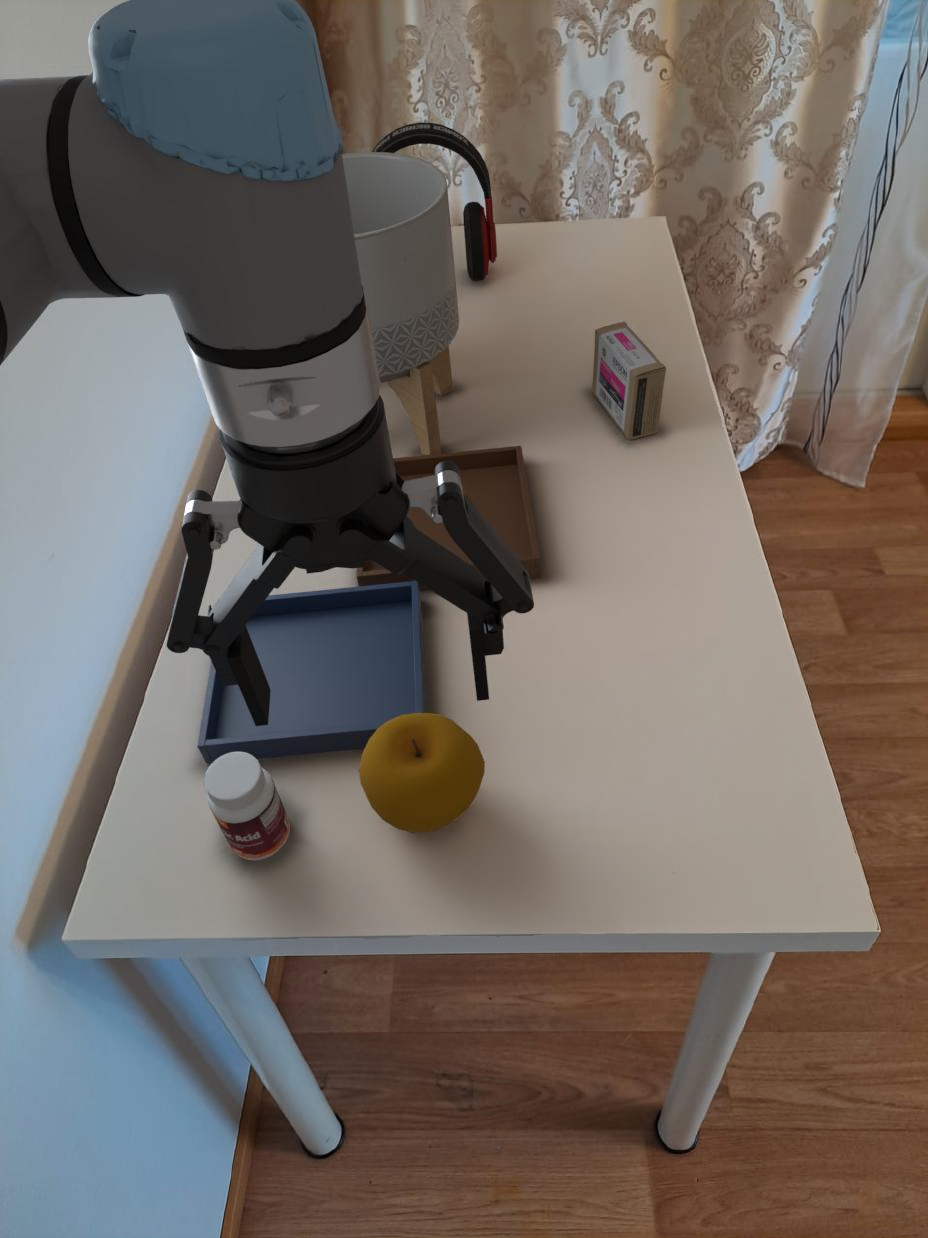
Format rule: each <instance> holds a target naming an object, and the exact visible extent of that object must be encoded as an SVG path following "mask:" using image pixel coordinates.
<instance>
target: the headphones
mask: <svg viewBox="0 0 928 1238" xmlns="http://www.w3.org/2000/svg"><path fill="white" fill-rule="evenodd" d="M416 145H434V146H439V147H441V148H446V149H447V150H450V151H452V152H454V153H455V154H458V155H459V156H460V158H462V159H464V160H465V161H466V162H467V164H468V165H469V166H470V167H471V169H472V170H473V172H474V174H475V176H476V178H477V180H478V182H479V186H480V188H481V190H482V193H483V198H484V205H485V207H484V206H483V205H481V204H480V202H478V201H470V202H467V203H466V204H465V205H464V207H463V212H462V218H463V220H462V221H463V233H464V245H465V248H464V249H465V260H466V271H467V275H468V277H469V279H470V280H472V281H473V282H481V281H484V280H485V279H486V277H487V276H488V275H489V267H490V263H491V264H494V263H495V262H496V260H497V258H498V245H497V231H496V223H495V222H494V205H493V196H492V188H491V178H490V172H489V169H488V167H487V163H486V161H485V160H484V157H483V156H482V154H481V152H479V150H478V149H477V147H476V146H475V145H474V144H473V143H472V142H471V141H470V140H468V138H467V137H466V136H465V135H463V134H461V133H460V132H458V131H456V129H453V128H451V127H448V126H446V125H445V124H440V123H435V122H414V123H410V124H409V123H408V124H405V125H403V126H401V127H400V126H399V127H398V128H395V129H394V130H392V131H391V132H389V133H388V134H386V135H385V136H384V137H383V138H382V139H380V140H379V141H378V142H377V144H376V145H375V146H374V147H373V149H372V150H371V152H388V153H397V152H398V151H400V150H402V149H405V148H408V147H410V146H416Z"/></svg>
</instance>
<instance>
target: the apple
mask: <svg viewBox="0 0 928 1238" xmlns="http://www.w3.org/2000/svg"><path fill="white" fill-rule="evenodd" d="M485 764H486V763H485V759H484V756H483V755H482V751H481V749H480V747H479V744H478V743H477V742H476V740H475V739H474V738H473V737H472V736H471V735H470V734H469V733H468V732H467V731H466V730H464V729H463V728H462V727H461V726H460V725H459V724H457V722H455V721H454V720H453V719H450V718H449V717H447V716H444V715H442V714H439V713H432V712H426V713H412V714H404V715H401V716H398V717H396V718H394V719H391V720H389V721H387V722H386V723H384V724H383V725H382V726H380V727H379V728H378V729H377V730H376V731H375V733H374V734H373V735H372V736H371V738H370V739H369V740H368V743H367V745H366V747H365V749H363V751H362V753H361V757H360V763H359V766H358V767H359V768H358V774H359V782H360V786H361V787H362V789H363V792H364V794H365V796H366V798H367V801H368V803H369V805H370V807H371V809H373V811H374V812H375V813H376V814H377V815H378V817H380V819H381V820H382V821H384V822H385V823H387V824H389V825H390V826H391V827H393V828H395V829H397V830H399V831H404V832H407V833H411V834H417V833H428V832H433V831H437V830H441V829H442V828H444V827H446V826H447V825H449V824H450V823H453V822H455V821H456V820H457V819H459V818H460V817H461V816H462V815H463V814H464V813H465V812H466V811H467V810H468V809H469V808H470V806H471V805H472V803H473V802H474V800H475V799H476V797H477V795H478V793H479V791H480V788H481V786H482V782H483V778H484V776H485V767H486V765H485Z"/></svg>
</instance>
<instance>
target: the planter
mask: <svg viewBox="0 0 928 1238" xmlns="http://www.w3.org/2000/svg"><path fill="white" fill-rule="evenodd" d="M342 156H343V163H344V171H345V178H346V184H347V191H348V197H349V204H350V210H351V217H352V224H353V230H354V237H355V243H356V250H357V257H358V263H359V270H360V276H361V283H362V286H363V292H364V298H365V302H366V304H367V305H368V311H369V317H370V323H371V330H372V336H373V342H374V348H375V354H376V360H377V366H378V372H379V378H380V384H382V383H386V384H387V385H388V386H389V387H390V388H391V390H392V391H393V392H394V394H395V395H396V396H397V398H398V399H399V401H400V402H401V404H402V406H403V407H404V409H405V411H406V413H407V415H408V417H409V419H410V422H411V423H412V426H413V429H414V431H415V435H416V437H417V440H418V445H419V451H420V454H422V455H432V454H442V453H443V451H442V450H443V449H442V442H441V434H440V427H439V425H440V424H439V419H438V418H439V417H438V416H439V415H438V409H437V401H436V400H437V399H436V394H437V395H438V396H440V397H442V396H445V395H447V394H449V393H450V392H452V391H454V384H453V383H454V382H453V375H452V365H451V354H450V345H451V343H452V342H453V340H454V339H455V338H456V336H457V333H458V331H459V326H460V315H459V304H458V303H459V302H458V292H457V281H456V270H455V269H456V268H455V259H454V248H453V247H454V246H453V236H452V223H451V214H450V201H449V189H448V182H447V177H446V176H445V174H444V173H443V171H442V170H441V169H440V168H438V166H436V165H435V164H433V163H432V162H429V161H427V160H425V159H423V158H420V157H417V156H413V155H408V154H403V153H397V152H395V153H388V152H372V151H367V152H366V151H361V152H351V153H342Z"/></svg>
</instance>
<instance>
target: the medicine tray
mask: <svg viewBox="0 0 928 1238" xmlns="http://www.w3.org/2000/svg"><path fill="white" fill-rule="evenodd" d="M523 453H524V452H523V448H522V445H513V446H503V447H502V446H501V447H492V448H481V449H471V450H463V451H462V450H461V451H451V452H442V454H432V455H423V454H422V455H412V456H403V457H393V460H394V466H395V469H396V470H397V472H398V473H399V475H400V476H401V477H402V478H403V479H404V480H405V481H408V480H413V479H418V478H423V477H428V476H432V475H435V468H436V466H437V465H438V464H439V463H440V462H443V461H452V462H454V463H455V464H457V466H458V468H459V472H460V476H461V480H462V484H463V488H464V492H465V494H466V495H467V496H468V498H469V499H470V500H471V501H472V503H473V504H474V505H475V506H476V508H477V509H478V510H479V511H480V513H481V514H482V515H483V516H484V518H485V519H486V520H487V521H488V523H489V524H490V525H491V526H492V528H493V529H494V530H495V531H496V533H497V534H498V535H499V536H500V538H501V539H502V540H503V541H504V543H505V544H506V545H507V546H508V548H509V549H510V550H511V551H512V552H513V554H514V555H515V556H516V557H517V559H518V560H519V561H520V562H521V564H522V565H523V566H524V567H525V569H526V570H527V571H528V574H529V579H530V580H533V579H540V578H542V556H541V551H540V544H539V539H538V532H537V527H536V522H535V516H534V510H533V504H532V498H531V494H530V493H531V492H530V488H529V483H528V477H527V471H526V466H525V465H526V464H525V460H524V459H525V458H524V454H523ZM407 517H408V518H410V520H411V521H412V522H413V524H414V526H415V527H416V528H417V529H418V530H419V531H421V532H422V533H424V534H425V535H427V536H428V537H430V538H431V539H433V540H434V541H436V542H437V543H439V544H440V545H441V546H443V547H444V548H446V549H447V550H449V551H450V552H452V553H453V554H455V555H456V556H458V557H459V558H461V559H462V560H464V561H465V562H467V563H468V564H470V565H471V566H473V567H474V568H476V569H477V570H478V568H477V567H476V566H475V565H474V564H473V563H472V561H471V560H470V559H469V558H468V557H467V556H466V555H465V553H464V552H463V551H462V550H461V549H460V548H459V546H458V545H457V544H456V543H455V542H454V541H453V539H452V538H451V537H450V535H449V534H448V532H447V530H446V528H445V525H444V523H443V522H442V523H440V524H437V523H434V522H433V520H432V518H431V517H429V516H428V515H427V514H426V513H425V511H424V510H422V509H420V508H417V507H412V508H410V510H409V513H408V515H407ZM355 576H356V580H357V581H356V582H357V585H358V586H357V587H360V586H370V585H380V584H390V583H400V582H410V581H411V582H412V581H415V580H414V579H412V578H411V577H409V576H407V575H406V574H404V573H400V574H399V575H396V574H394V573H392V572H390V571H389V570H387V569H386V568H384V567H382V566H381V565H379V564H378V563H376V562H374V561H373V560H371V561H369V562H367V567H361V568H356V575H355ZM418 585H419V591H420V590H429V589H428V588H426V587H425V586H423V585H422V584H420V583H418Z"/></svg>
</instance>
